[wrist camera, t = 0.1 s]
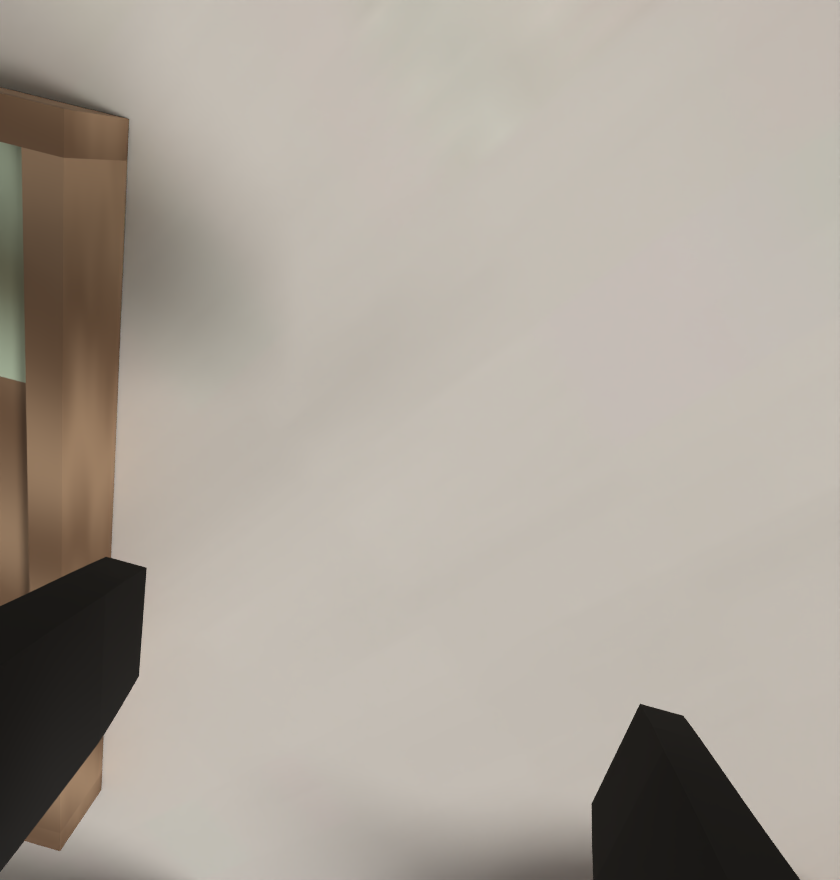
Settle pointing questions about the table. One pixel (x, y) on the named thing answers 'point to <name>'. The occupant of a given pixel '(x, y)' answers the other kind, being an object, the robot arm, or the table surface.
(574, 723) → the table surface
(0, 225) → the tray
